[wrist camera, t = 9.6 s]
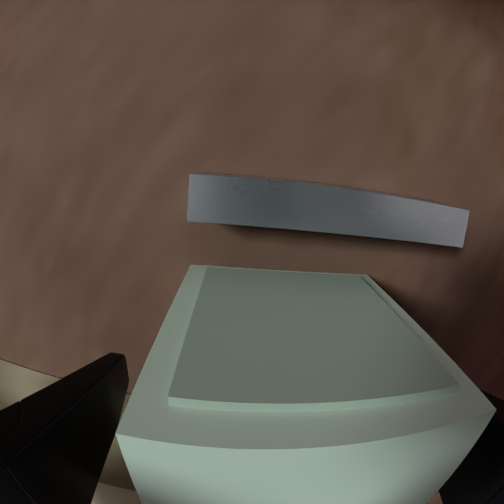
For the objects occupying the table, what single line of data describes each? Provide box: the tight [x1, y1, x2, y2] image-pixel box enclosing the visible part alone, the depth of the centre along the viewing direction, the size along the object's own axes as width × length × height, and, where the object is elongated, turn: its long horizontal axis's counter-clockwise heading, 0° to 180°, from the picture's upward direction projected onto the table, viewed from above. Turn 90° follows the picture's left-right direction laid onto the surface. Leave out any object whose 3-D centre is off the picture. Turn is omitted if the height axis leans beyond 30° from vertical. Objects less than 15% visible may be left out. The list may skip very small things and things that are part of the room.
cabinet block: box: [115, 265, 497, 504], centre depth 6 cm, size 5×5×6 cm
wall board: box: [0, 359, 142, 504], centre depth 8 cm, size 16×2×4 cm, turn 85°
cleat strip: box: [187, 172, 469, 248], centre depth 7 cm, size 7×1×2 cm, turn 85°
